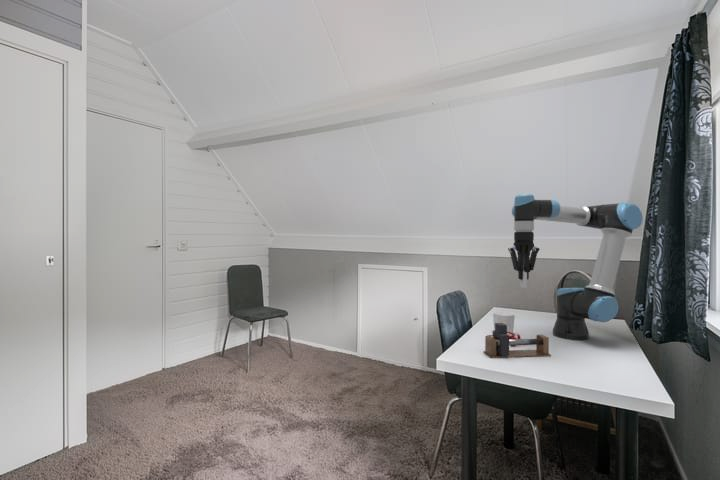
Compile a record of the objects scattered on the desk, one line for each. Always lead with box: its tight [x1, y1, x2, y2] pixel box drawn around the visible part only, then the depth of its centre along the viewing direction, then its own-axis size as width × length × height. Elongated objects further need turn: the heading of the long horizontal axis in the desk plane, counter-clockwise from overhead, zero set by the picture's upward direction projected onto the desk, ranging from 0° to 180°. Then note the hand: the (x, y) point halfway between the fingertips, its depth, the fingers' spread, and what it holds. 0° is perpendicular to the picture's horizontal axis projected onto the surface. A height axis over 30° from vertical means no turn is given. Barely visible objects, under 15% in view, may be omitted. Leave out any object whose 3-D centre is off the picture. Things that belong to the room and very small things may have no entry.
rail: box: [483, 333, 552, 359], centre depth 150 cm, size 25×7×7 cm, turn 95°
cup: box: [492, 310, 516, 334], centre depth 182 cm, size 10×10×10 cm
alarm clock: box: [486, 332, 522, 347], centre depth 166 cm, size 10×6×15 cm
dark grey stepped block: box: [492, 323, 510, 356], centre depth 149 cm, size 3×8×12 cm, turn 5°
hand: (523, 287), depth 156 cm, fingers closed
